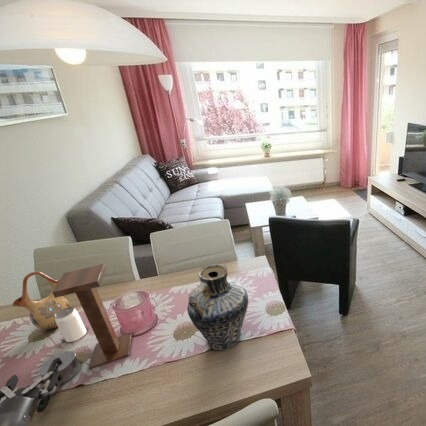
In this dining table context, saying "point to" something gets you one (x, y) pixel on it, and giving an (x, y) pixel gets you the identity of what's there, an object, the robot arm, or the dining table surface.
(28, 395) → the robot arm
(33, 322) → the ceramic vessel
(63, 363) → the pot
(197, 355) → the dining table surface
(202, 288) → the blue patterned vase
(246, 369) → the dining table surface
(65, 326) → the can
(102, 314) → the stand
